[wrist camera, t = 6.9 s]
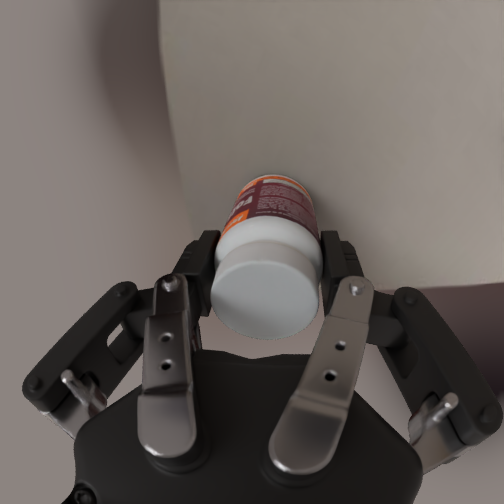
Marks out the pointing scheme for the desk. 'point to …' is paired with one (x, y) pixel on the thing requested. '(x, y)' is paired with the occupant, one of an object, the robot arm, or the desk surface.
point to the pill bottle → (268, 261)
